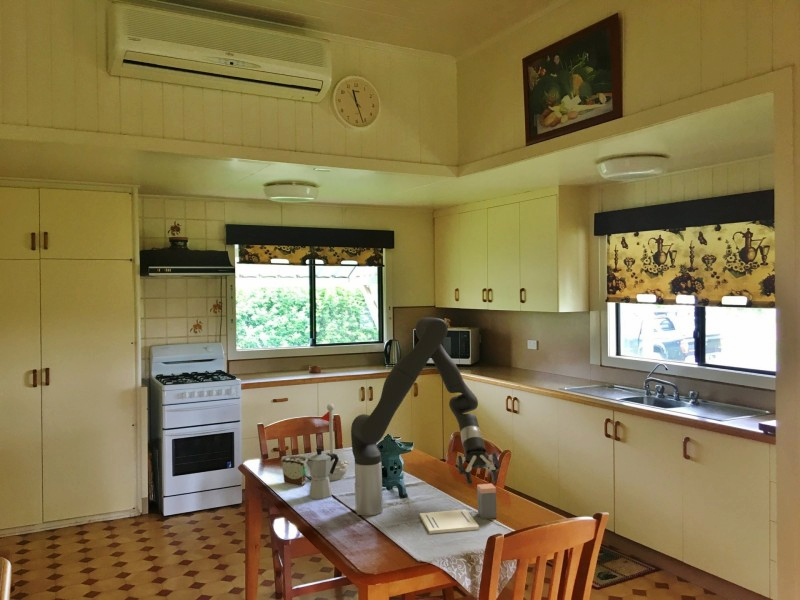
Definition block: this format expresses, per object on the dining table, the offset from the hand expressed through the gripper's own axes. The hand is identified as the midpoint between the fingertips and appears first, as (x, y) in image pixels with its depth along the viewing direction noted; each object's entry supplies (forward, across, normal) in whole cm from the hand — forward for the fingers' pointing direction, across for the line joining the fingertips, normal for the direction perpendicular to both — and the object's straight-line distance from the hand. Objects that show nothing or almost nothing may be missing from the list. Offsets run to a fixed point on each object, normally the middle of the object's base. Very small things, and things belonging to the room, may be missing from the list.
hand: (482, 482), depth 228 cm
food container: (-28, -62, +42) cm, 80 cm away
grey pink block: (+10, 0, +4) cm, 11 cm away
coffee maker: (-15, -53, +29) cm, 62 cm away
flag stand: (-32, -48, +46) cm, 73 cm away
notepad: (+12, -14, +2) cm, 19 cm away
